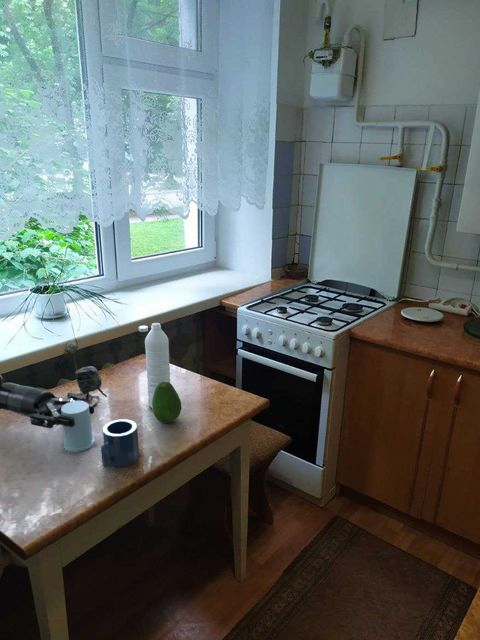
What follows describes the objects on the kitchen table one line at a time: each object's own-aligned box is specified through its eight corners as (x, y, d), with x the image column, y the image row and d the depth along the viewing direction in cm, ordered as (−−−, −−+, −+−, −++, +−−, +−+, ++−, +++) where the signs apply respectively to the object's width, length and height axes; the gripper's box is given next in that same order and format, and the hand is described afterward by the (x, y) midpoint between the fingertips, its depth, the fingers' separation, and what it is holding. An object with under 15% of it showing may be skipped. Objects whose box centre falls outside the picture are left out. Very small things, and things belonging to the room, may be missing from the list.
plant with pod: (98, 411, 140) (91, 346, 133) (61, 407, 142) (53, 342, 134) (111, 399, 147) (106, 336, 140) (76, 394, 149) (69, 332, 142)
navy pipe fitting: (117, 446, 124) (115, 416, 121) (145, 453, 122) (143, 422, 119) (90, 470, 114) (86, 438, 111) (119, 478, 112) (116, 446, 109)
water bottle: (161, 396, 150) (157, 318, 140) (175, 403, 146) (172, 323, 137) (137, 406, 143) (132, 325, 134) (151, 414, 140) (147, 331, 130)
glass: (93, 450, 122) (88, 413, 118) (61, 452, 121) (56, 415, 117) (96, 434, 129) (92, 399, 125) (66, 436, 127) (61, 400, 124)
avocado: (147, 421, 136) (145, 381, 132) (171, 411, 141) (169, 373, 137) (164, 432, 131) (162, 391, 126) (188, 422, 136) (187, 383, 132)
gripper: (5, 401, 119) (60, 415, 113) (50, 378, 131) (101, 390, 126) (10, 428, 122) (64, 444, 116) (54, 403, 134) (104, 416, 128)
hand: (83, 416), depth 121 cm, fingers closed on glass, 6 cm apart
